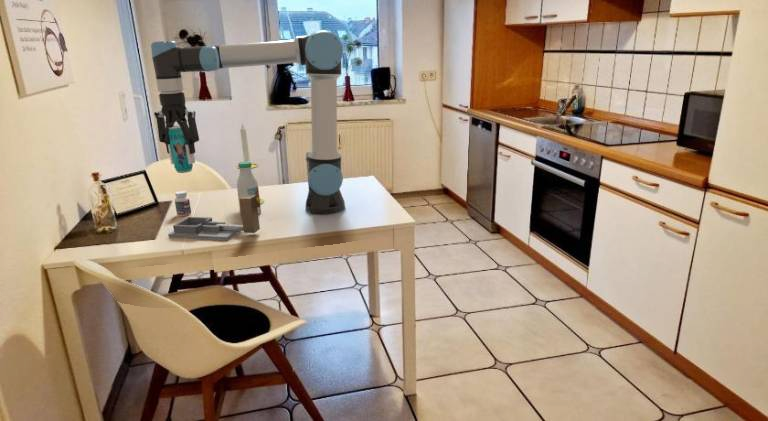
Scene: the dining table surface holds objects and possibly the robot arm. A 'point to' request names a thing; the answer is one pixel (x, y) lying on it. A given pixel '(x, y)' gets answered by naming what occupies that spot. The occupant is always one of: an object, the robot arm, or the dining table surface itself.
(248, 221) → the lock pin
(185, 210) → the pill bottle
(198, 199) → the dining table surface
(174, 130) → the beverage can
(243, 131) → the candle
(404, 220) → the dining table surface
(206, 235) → the dock
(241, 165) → the milk bottle
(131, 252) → the dining table surface
